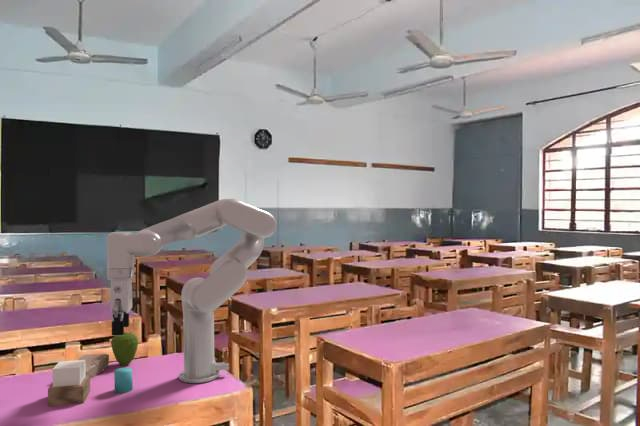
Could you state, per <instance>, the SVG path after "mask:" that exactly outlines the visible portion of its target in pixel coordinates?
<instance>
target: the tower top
mask: <svg viewBox="0 0 640 426" xmlns="http://www.w3.org/2000/svg"><path fill="white" fill-rule="evenodd" d="M85 377H86V368H85V360H78V359H76V360H63V361H58V363H56V365H55V366H53V368H52V383H53V387H61V386H73V385H80V384H81V383H82V381H83V380H84V378H85Z"/></svg>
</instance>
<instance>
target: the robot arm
mask: <svg viewBox="0 0 640 426" xmlns="http://www.w3.org/2000/svg"><path fill="white" fill-rule="evenodd" d="M277 224H278V223H277V220H276V218H275V216H274V215H272V214H271V213H270V212H269V211H266V210H262V209H260V208H257V207H255V206H253V205H250V204H248V203H246V202H244V201H241V200H239V199H236V198H223V199H219V200H216V201H214V202H210V203H208V204H205V205H204V206H201V207H199V208H195V209H192V210H190V211H188V212H185V213H183V214H180V215H177V216H175V217H173V218H171V219H168V220H165V221H162V222H158V223H156V224H153V225H151V226H149V227H146V228H143V229H141V230H139V231H137V232H136V233H133V232H130V231H114V232H110V233H108V235H107V238H106V279H107V280H108V281H110V297H109V298H110V301H109V303H110V313H111V314H112V318H111V335H112V336H116V335H123V334H124V332H125V328H128V327H130V313H129V312H130V311H131V310H132V309H133V287H132V284H133V283H132V279H135V256H139V257H140V256H141V257H153V256H156V255H157V254H158V253H160V252H161V250H162V247H164V246H168V245H170V244H173V243H177V242H180V241H189V240H194V239H197V238H199V237H202V236H204V235H206V234H208V233H211V232H214V231H216V230H220V229H221V228H224V227H226V226H230V227H233V228H235V229H237V230H240V231H241V235H240V239H239V240H238V241H237V242H236V243H235V244H234V245H233V246H232V247H231V248H229V249H228V250H227V251H226V252H225V253H224V254H222V255H221V256H220V257H218V258H217V259H216V260H214V262H213V263H212V264H211V266H210V268H209V275H208V276H207V277H205V278H203V277H192V278H190V279H188V280H187V281H186V282H185V283H184V285H183V287H182V289H181V295H180V296H181V297H180V298H181V307H182V317H183V319H182V320H183V329H182V330H183V333H182V335H183V370H182V371H180V373H179V375H178V378H179V380H180V381H181V382H184V383H187V384H200V383H207V382H210V381H211V382H212V381H213V380H216V379H217V378H219V376H220V371H227V370H228V371H229V370H230V363H225V362H224V361H223V362H216V358H215V320H214V319H215V318H214V317H215V315H214V312H215V310H217V309H218V308H219V307H220V306H221V305H223V304H224V303H225V302H226V301H228V300H229V299H230V298H231V297H232V296H233V295H235V294H236V293H237V292H238V291H239V290H240V289H241V288H242V287H243V286H244V285H245V282H246V281H247V278H248V268H249V267H250V266H251V265H253V264H254V263H255V262H256V261H257V259H259V257H260V256H261V254H262V252H263V249H264V245H265V239H266V238H269V237H272V236H273V235H274V234H275V233H276V231H277V226H278V225H277Z"/></svg>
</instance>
